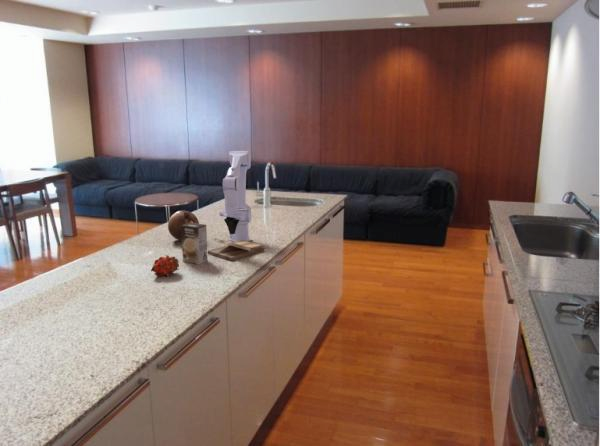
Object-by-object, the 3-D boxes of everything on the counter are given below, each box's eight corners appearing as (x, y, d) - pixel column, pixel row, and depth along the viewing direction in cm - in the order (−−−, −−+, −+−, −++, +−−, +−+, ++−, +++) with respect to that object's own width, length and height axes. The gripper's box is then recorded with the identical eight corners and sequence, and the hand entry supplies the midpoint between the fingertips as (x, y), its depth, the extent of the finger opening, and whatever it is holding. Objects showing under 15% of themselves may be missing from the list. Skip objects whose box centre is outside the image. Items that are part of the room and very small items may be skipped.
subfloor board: (207, 253, 222) (207, 248, 221) (240, 244, 236) (240, 239, 236) (231, 261, 212) (231, 255, 211) (264, 250, 226) (264, 245, 226)
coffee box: (182, 261, 211) (179, 225, 207) (191, 257, 217) (189, 222, 213) (199, 264, 207) (197, 227, 203) (208, 260, 213) (206, 224, 209)
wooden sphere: (168, 237, 249) (166, 208, 245) (198, 235, 253) (196, 206, 250) (170, 245, 235) (167, 215, 231) (201, 242, 240) (200, 212, 236)
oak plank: (213, 240, 222) (214, 237, 222) (229, 245, 230) (230, 242, 230) (234, 246, 213) (235, 243, 213) (250, 250, 221) (250, 248, 221)
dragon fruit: (182, 275, 198) (155, 286, 191) (172, 260, 202) (144, 270, 195) (185, 263, 192) (156, 274, 185) (174, 247, 196) (146, 257, 189)
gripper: (213, 203, 219) (215, 232, 223) (235, 207, 210) (236, 238, 213) (225, 201, 225) (226, 230, 228) (247, 205, 216) (248, 235, 219)
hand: (232, 233), depth 221 cm, fingers closed
